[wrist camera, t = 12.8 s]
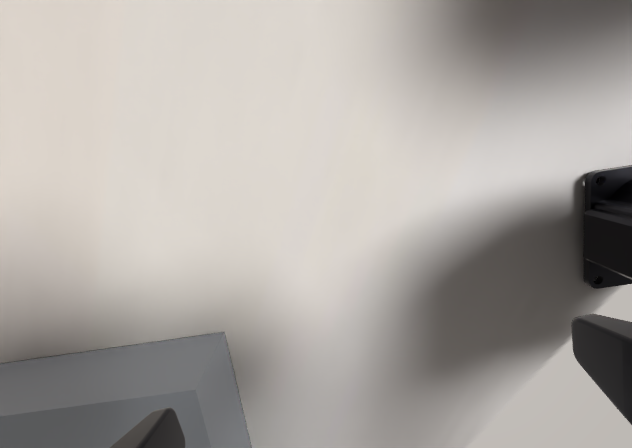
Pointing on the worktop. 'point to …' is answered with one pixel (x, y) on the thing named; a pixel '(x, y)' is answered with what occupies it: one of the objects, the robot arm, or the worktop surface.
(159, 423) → the robot arm
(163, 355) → the socket block
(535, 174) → the worktop surface
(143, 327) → the worktop surface
